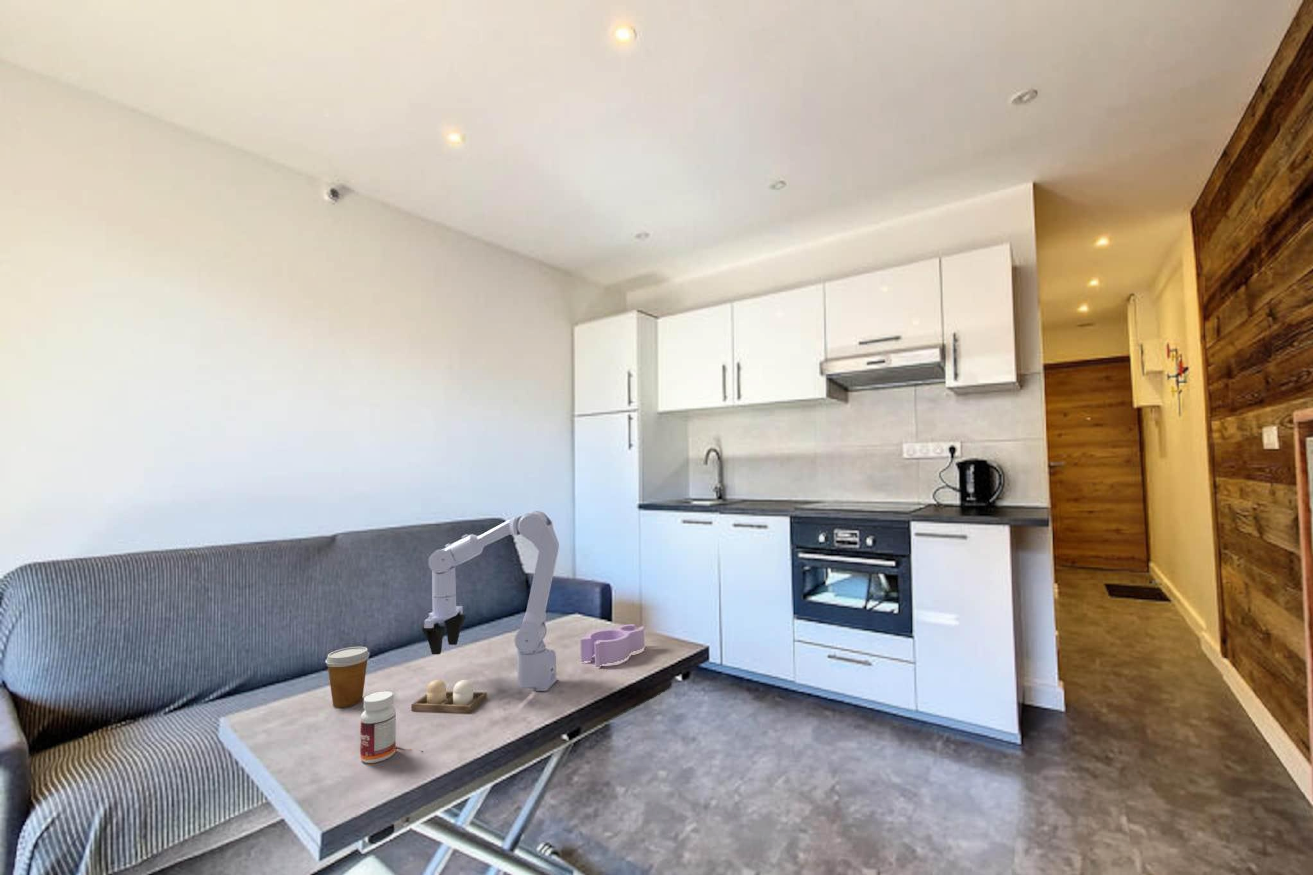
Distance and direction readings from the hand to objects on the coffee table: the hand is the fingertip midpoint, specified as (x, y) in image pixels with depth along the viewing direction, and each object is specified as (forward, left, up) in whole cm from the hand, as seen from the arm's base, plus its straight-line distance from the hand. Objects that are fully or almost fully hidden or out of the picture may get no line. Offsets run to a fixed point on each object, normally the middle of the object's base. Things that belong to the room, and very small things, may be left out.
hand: (444, 649), depth 140 cm
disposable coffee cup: (+20, +10, -10) cm, 25 cm away
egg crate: (-8, +11, -10) cm, 17 cm away
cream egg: (-11, +11, -9) cm, 18 cm away
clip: (-38, -27, -10) cm, 48 cm away
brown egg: (-5, +11, -9) cm, 15 cm away
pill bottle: (-6, +33, -10) cm, 35 cm away
